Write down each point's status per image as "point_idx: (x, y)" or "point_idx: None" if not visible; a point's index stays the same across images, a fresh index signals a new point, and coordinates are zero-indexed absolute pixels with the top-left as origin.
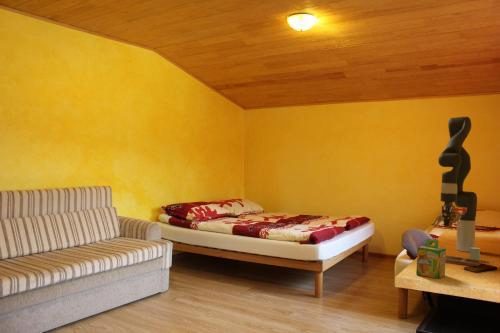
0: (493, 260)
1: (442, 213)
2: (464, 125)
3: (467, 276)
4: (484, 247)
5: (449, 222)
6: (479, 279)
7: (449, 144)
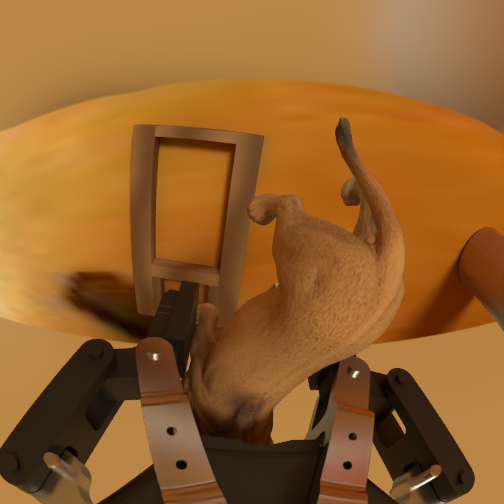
0: None
1: (55, 382)
2: None
3: (19, 280)
4: None
5: (190, 353)
6: (19, 301)
7: None
